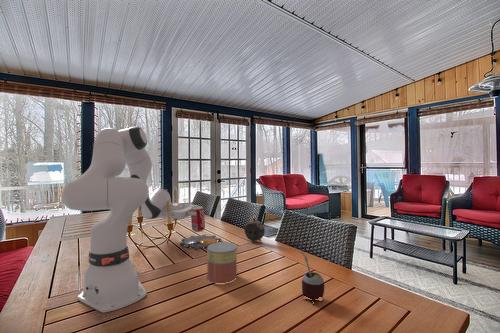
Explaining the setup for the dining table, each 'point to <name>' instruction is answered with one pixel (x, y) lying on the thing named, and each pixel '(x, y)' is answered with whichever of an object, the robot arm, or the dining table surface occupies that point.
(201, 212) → the soda can
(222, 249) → the canned food
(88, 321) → the dining table surface
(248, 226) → the alarm clock
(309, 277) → the mate gourd
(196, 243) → the sprocket plate
